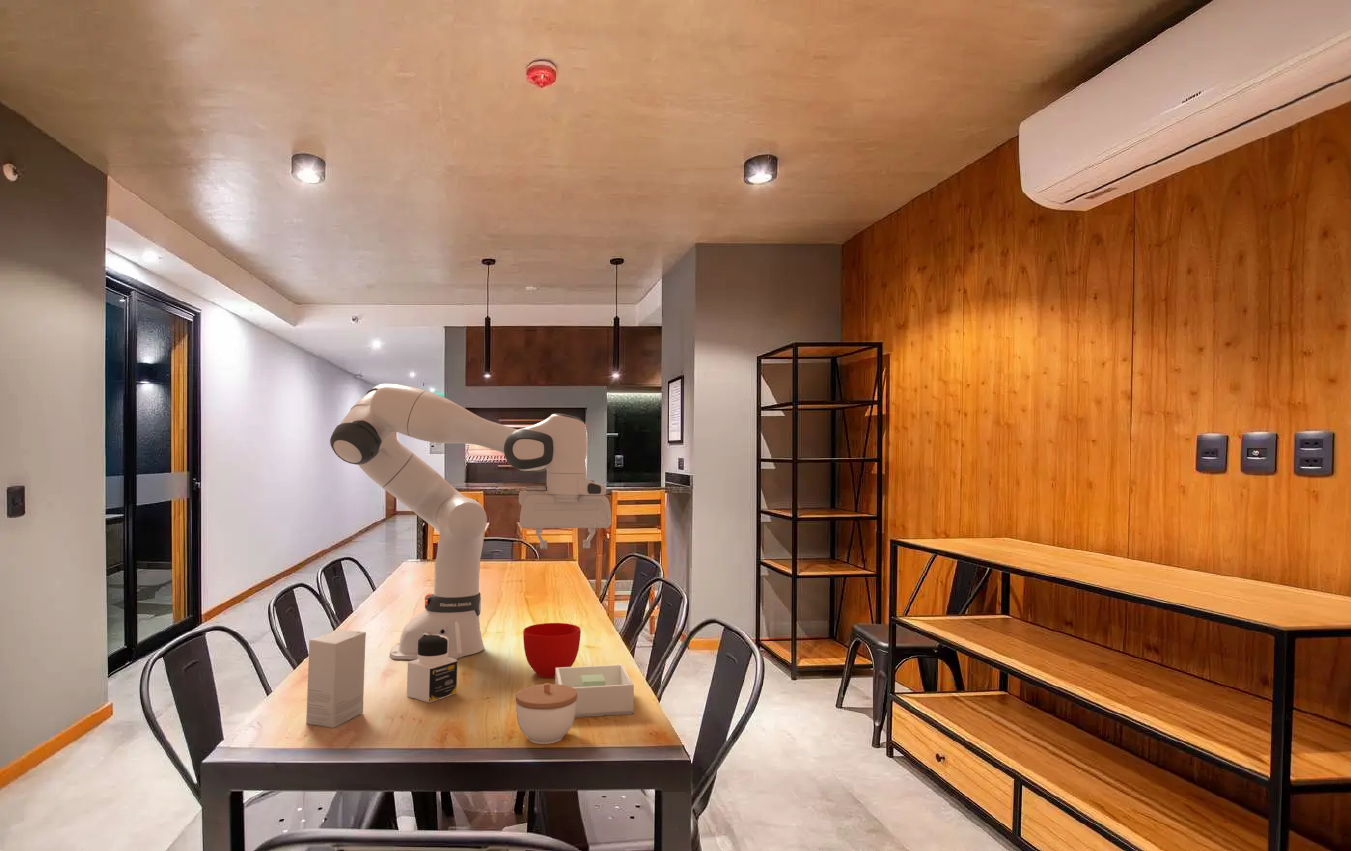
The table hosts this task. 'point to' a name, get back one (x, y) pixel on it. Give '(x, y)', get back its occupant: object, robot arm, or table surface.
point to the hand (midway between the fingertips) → (565, 548)
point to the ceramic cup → (551, 647)
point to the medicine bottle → (432, 670)
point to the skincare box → (335, 678)
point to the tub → (599, 690)
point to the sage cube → (592, 680)
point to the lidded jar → (546, 712)
